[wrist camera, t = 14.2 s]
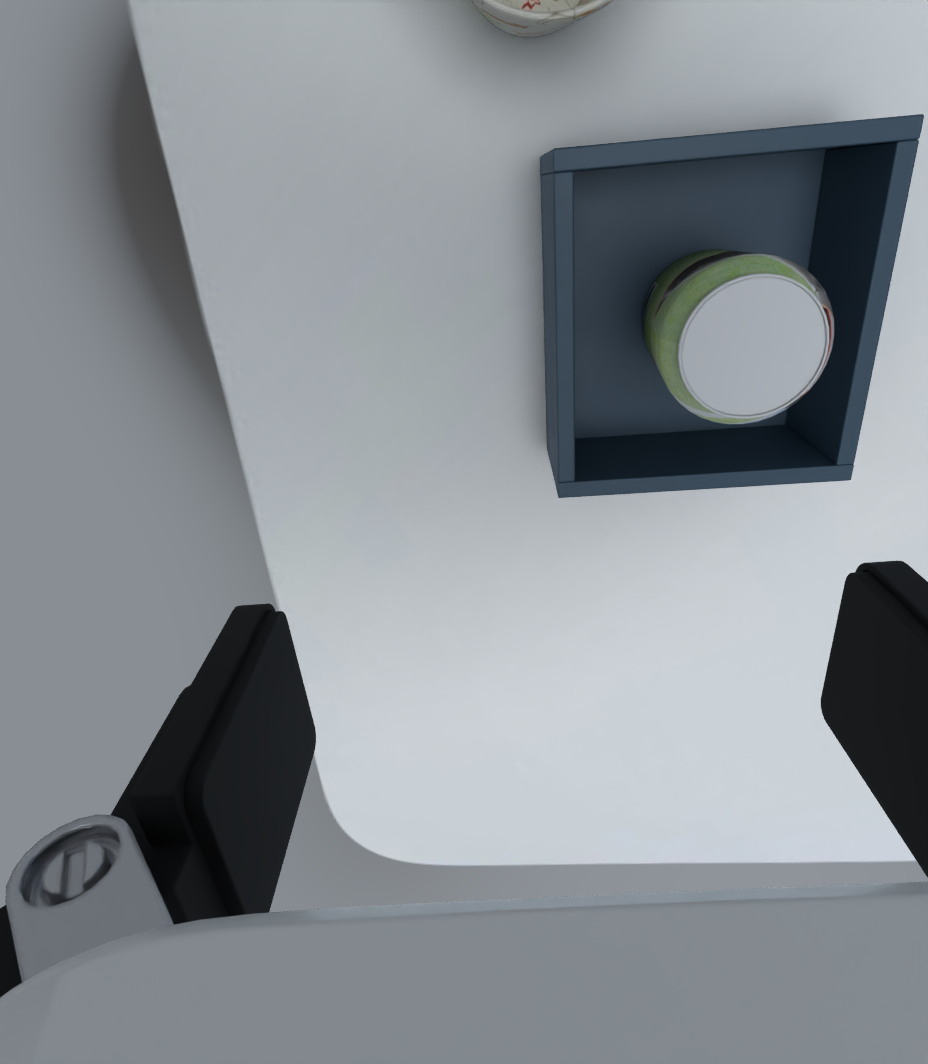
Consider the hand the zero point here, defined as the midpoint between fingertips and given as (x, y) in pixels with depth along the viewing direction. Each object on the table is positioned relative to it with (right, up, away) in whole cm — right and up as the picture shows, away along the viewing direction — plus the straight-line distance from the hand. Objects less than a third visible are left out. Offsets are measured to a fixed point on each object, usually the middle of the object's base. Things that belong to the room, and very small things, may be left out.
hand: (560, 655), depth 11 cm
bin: (+9, +14, +23) cm, 28 cm away
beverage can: (+10, +14, +22) cm, 28 cm away
